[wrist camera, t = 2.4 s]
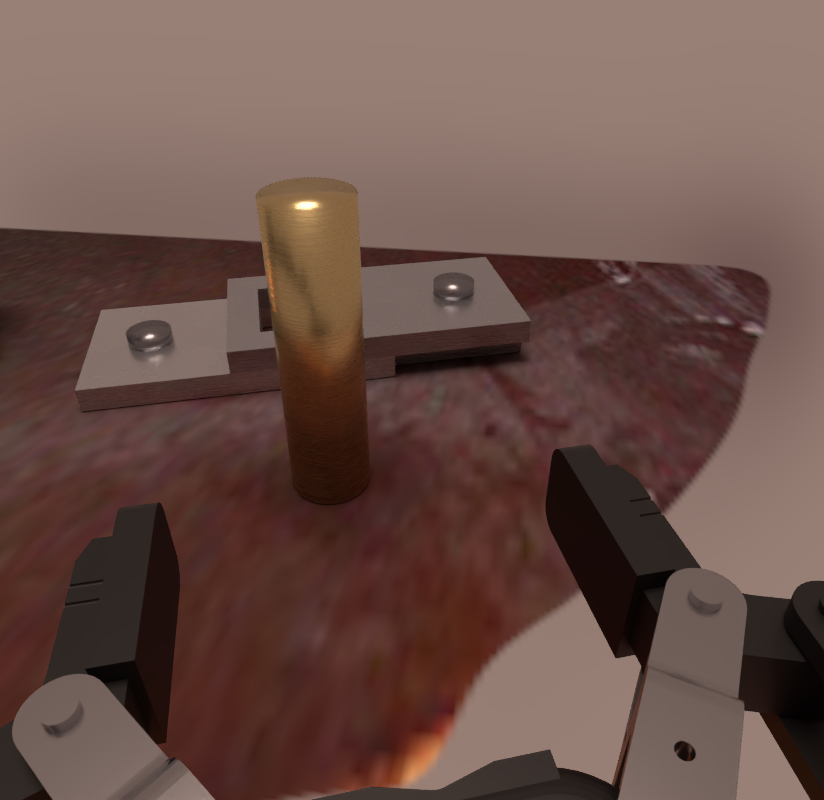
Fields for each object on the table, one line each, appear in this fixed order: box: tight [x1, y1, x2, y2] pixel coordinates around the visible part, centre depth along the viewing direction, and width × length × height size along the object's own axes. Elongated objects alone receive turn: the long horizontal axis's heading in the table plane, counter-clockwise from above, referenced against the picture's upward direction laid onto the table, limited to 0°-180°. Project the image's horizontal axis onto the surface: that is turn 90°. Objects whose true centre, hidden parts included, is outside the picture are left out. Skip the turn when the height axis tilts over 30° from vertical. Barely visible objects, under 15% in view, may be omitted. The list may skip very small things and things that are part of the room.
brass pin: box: [256, 178, 370, 504], centre depth 26 cm, size 3×3×12 cm
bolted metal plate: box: [75, 257, 531, 411], centre depth 37 cm, size 22×8×3 cm, turn 102°
